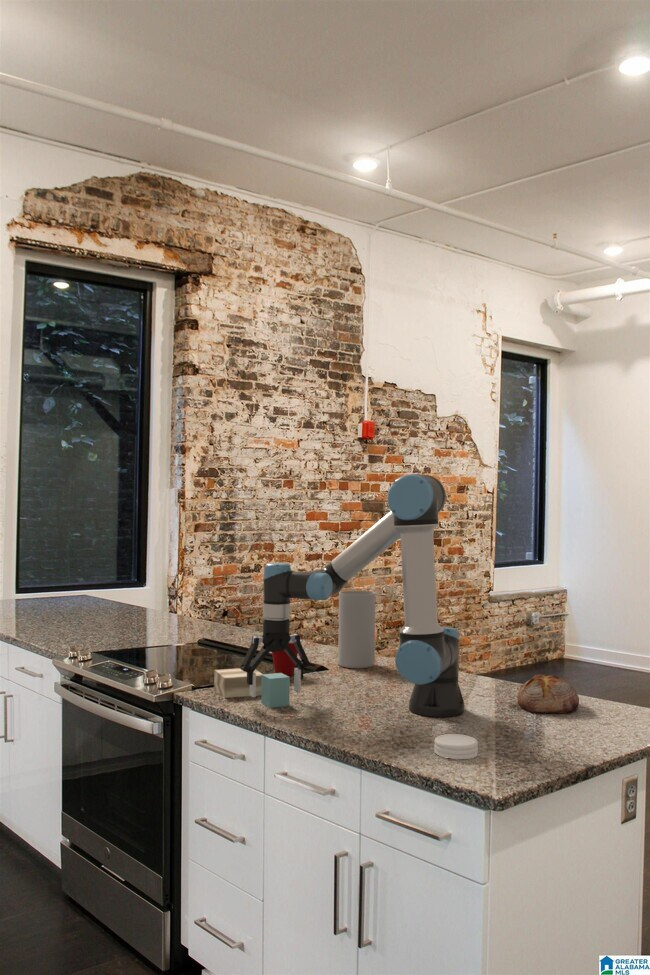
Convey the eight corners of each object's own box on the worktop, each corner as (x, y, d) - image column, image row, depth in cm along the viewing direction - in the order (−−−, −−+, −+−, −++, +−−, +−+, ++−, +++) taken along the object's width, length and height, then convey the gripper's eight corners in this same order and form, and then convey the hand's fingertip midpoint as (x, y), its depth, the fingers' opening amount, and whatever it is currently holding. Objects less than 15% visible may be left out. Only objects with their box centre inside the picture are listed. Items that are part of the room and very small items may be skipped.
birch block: (264, 695, 257) (264, 675, 257) (224, 698, 252) (224, 678, 252) (252, 687, 268) (252, 667, 268) (214, 689, 264) (214, 669, 264)
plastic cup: (308, 675, 285) (309, 638, 285) (285, 680, 277) (285, 642, 277) (284, 670, 292) (285, 634, 292) (261, 675, 284) (261, 638, 284)
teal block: (289, 705, 245) (289, 677, 245) (269, 707, 242) (269, 678, 242) (280, 700, 250) (281, 672, 250) (261, 702, 247) (261, 674, 247)
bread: (506, 713, 244) (505, 677, 244) (535, 700, 260) (534, 666, 260) (563, 719, 234) (561, 681, 234) (590, 705, 250) (588, 670, 250)
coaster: (437, 746, 208) (438, 731, 208) (480, 750, 205) (480, 735, 205) (430, 758, 199) (430, 743, 199) (475, 763, 196) (475, 747, 196)
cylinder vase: (366, 661, 310) (367, 590, 310) (379, 668, 298) (380, 594, 298) (333, 662, 306) (334, 591, 306) (345, 669, 294) (346, 595, 294)
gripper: (310, 614, 255) (309, 687, 255) (229, 618, 244) (228, 695, 244) (322, 617, 248) (321, 692, 248) (239, 622, 237) (238, 701, 237)
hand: (275, 694), depth 246 cm, fingers open, 13 cm apart
